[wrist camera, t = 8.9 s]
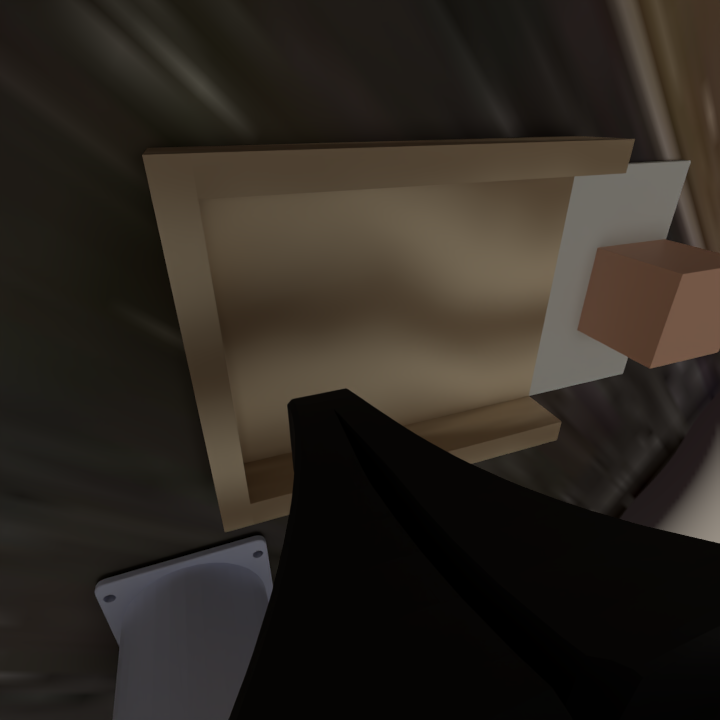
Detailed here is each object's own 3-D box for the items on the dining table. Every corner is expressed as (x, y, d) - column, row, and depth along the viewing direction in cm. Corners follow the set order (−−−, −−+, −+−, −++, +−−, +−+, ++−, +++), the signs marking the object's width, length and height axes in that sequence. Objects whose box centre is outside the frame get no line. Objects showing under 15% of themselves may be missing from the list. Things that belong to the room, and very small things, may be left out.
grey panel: (617, 370, 28) (622, 373, 28) (524, 392, 26) (528, 395, 25) (683, 160, 22) (690, 160, 22) (569, 166, 20) (576, 167, 20)
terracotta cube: (639, 318, 26) (717, 352, 22) (577, 330, 24) (649, 368, 21) (664, 239, 24) (756, 262, 20) (597, 247, 22) (682, 274, 19)
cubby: (520, 409, 26) (556, 439, 24) (218, 483, 21) (224, 532, 19) (576, 135, 19) (634, 139, 17) (146, 147, 14) (141, 154, 12)
